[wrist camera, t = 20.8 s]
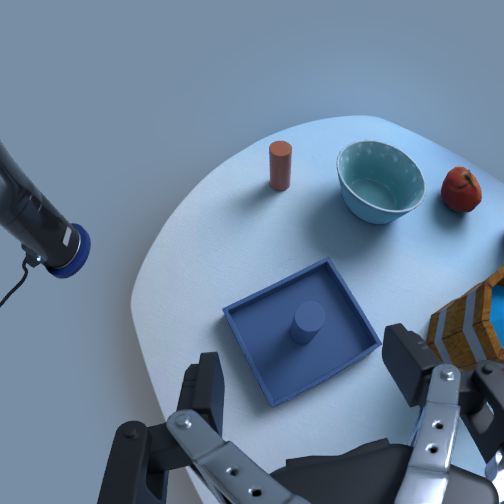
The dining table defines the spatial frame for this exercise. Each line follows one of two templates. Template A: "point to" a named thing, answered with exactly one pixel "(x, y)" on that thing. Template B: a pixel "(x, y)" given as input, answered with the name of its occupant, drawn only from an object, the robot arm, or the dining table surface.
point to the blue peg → (307, 322)
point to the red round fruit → (461, 190)
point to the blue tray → (279, 323)
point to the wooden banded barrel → (471, 326)
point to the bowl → (379, 181)
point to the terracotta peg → (280, 165)
